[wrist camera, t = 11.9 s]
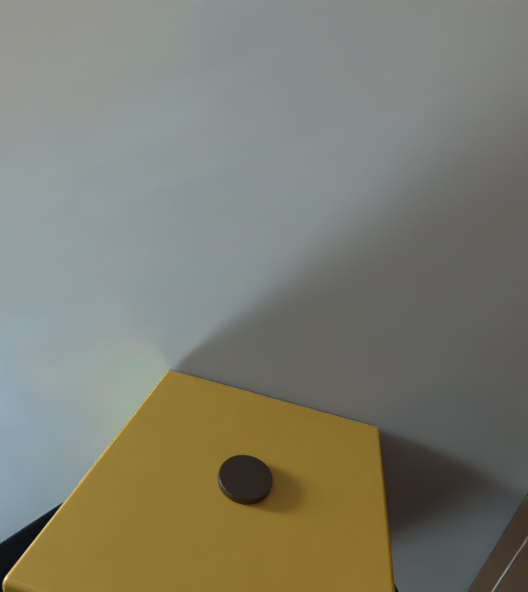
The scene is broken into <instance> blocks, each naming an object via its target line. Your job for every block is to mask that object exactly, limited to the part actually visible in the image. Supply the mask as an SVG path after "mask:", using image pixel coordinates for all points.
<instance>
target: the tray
mask: <svg viewBox="0 0 528 592" xmlns="http://www.w3.org/2000/svg"><path fill="white" fill-rule="evenodd" d="M468 592H528V494H527V496H526V497H525V499H524V501H523V502H522V504H521V506H520V507H519V509H518V511H517V512H516V514H515V515H514V517H513V519H512V520H511V522H510V524H509V525H508V527H507V528H506V530H505V532H504V533H503V535H502V537H501V538H500V540H499V542H498V543H497V545H496V546H495V548H494V550H493V551H492V553H491V555H490V556H489V558H488V560H487V561H486V563H485V564H484V566H483V568H482V569H481V571H480V573H479V574H478V576H477V577H476V579H475V581H474V582H473V584H472V586H471V587H470V589H469V591H468Z"/></svg>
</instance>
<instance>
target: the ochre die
mask: <svg viewBox="0 0 528 592" xmlns="http://www.w3.org/2000/svg"><path fill="white" fill-rule="evenodd" d="M2 586H3V592H395V584H394V574H393V564H392V554H391V544H390V534H389V524H388V514H387V504H386V494H385V484H384V474H383V464H382V454H381V444H380V434H379V429H378V428H377V427H376V426H372V425H368V424H365V423H361V422H358V421H354V420H350V419H347V418H343V417H339V416H336V415H332V414H329V413H325V412H321V411H318V410H314V409H311V408H307V407H303V406H300V405H296V404H293V403H289V402H285V401H282V400H278V399H274V398H271V397H267V396H264V395H260V394H256V393H253V392H249V391H246V390H242V389H238V388H235V387H231V386H228V385H224V384H220V383H217V382H213V381H210V380H206V379H202V378H199V377H195V376H191V375H188V374H184V373H181V372H177V371H173V370H168V371H167V372H166V373H165V375H164V376H163V377H162V378H161V380H160V381H159V382H158V384H157V385H156V386H155V387H154V389H153V390H152V391H151V392H150V394H149V395H148V396H147V397H146V399H145V400H144V401H143V403H142V404H141V405H140V406H139V408H138V409H137V410H136V411H135V413H134V414H133V415H132V417H131V418H130V419H129V420H128V422H127V423H126V424H125V425H124V427H123V428H122V429H121V430H120V432H119V433H118V434H117V436H116V437H115V438H114V439H113V441H112V442H111V443H110V444H109V446H108V447H107V448H106V450H105V451H104V452H103V453H102V455H101V456H100V457H99V458H98V460H97V461H96V462H95V464H94V465H93V466H92V467H91V469H90V470H89V471H88V472H87V474H86V475H85V476H84V477H83V479H82V480H81V481H80V483H79V484H78V485H77V486H76V488H75V489H74V490H73V491H72V493H71V494H70V495H69V497H68V498H67V499H66V500H65V502H64V503H63V504H62V505H61V507H60V508H59V509H58V510H57V512H56V513H55V514H54V516H53V517H52V518H51V519H50V521H49V522H48V523H47V524H46V526H45V527H44V528H43V530H42V531H41V532H40V533H39V535H38V536H37V537H36V538H35V540H34V541H33V542H32V543H31V545H30V546H29V547H28V549H27V550H26V551H25V552H24V554H23V555H22V556H21V557H20V559H19V560H18V561H17V563H16V564H15V565H14V566H13V568H12V569H11V570H10V571H9V573H8V574H7V575H6V577H5V578H4V581H3V584H2Z"/></svg>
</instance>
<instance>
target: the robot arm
mask: <svg viewBox="0 0 528 592" xmlns="http://www.w3.org/2000/svg"><path fill="white" fill-rule="evenodd" d="M64 502H65V501H64ZM64 502H63V503H64ZM63 503H61V504H60V505H58V506H57V507H55V508H54V509H52V510H51V511H49V512H48V513H46V514H44V515H43V516H41V517H40V518H38V519H37V520H35V521H34V522H32V523H31V524H29V525H28V526H26V527H25V528H23V529H22V530H20V531H19V532H17V533H16V534H14V535H13V536H11V537H9V538H8V539H6V540H5V541H3V542H2V543H0V592H3V586H2V584H3V581H4V578H5V577H6V575H7V574H8V573H9V571H10V570H11V569H12V568H13V566H14V565H15V564H16V563H17V561H18V560H19V559H20V557H21V556H22V555H23V554H24V552H25V551H26V550H27V549H28V547H29V546H30V545H31V543H32V542H33V541H34V540H35V538H36V537H37V536H38V535H39V533H40V532H41V531H42V530H43V528H44V527H45V526H46V524H47V523H48V522H49V521H50V519H51V518H52V517H53V516H54V514H55V513H56V512H57V510H58V509H59V508H60V507H61V505H62V504H63ZM394 584H395V583H394ZM395 592H398V590H397V587H396V585H395Z"/></svg>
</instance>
